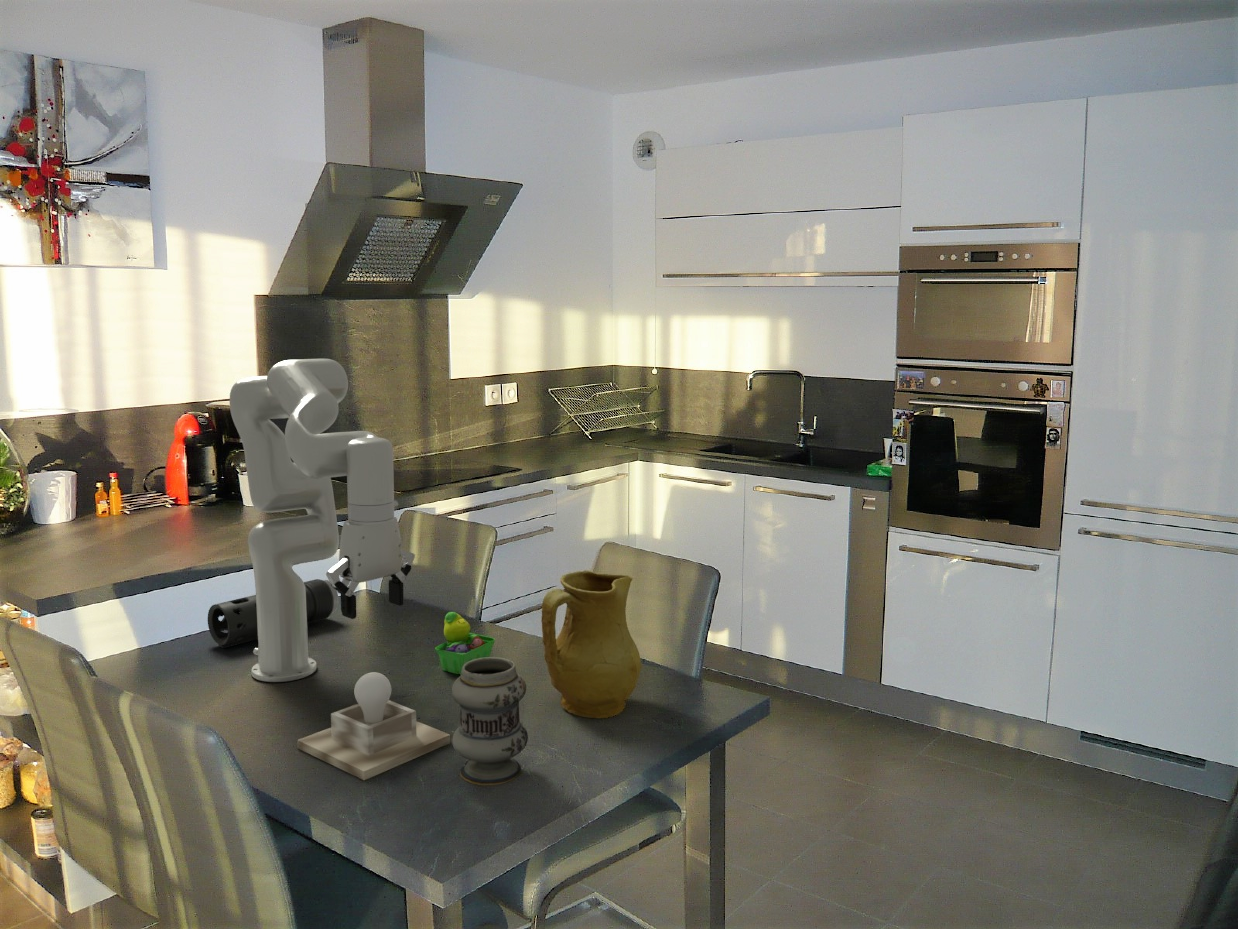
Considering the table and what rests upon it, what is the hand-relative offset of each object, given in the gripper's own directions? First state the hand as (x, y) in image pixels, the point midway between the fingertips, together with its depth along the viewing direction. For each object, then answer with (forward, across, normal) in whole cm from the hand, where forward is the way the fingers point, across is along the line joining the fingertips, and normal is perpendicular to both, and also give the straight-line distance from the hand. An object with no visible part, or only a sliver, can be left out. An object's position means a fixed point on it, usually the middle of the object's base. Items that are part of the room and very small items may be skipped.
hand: (373, 610), depth 172 cm
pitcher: (+23, -35, +19) cm, 46 cm away
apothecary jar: (+23, -4, +25) cm, 34 cm away
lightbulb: (+21, +2, +2) cm, 21 cm away
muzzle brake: (+24, -20, -62) cm, 69 cm away
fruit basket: (+24, -34, -15) cm, 43 cm away
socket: (+23, +2, +3) cm, 23 cm away
